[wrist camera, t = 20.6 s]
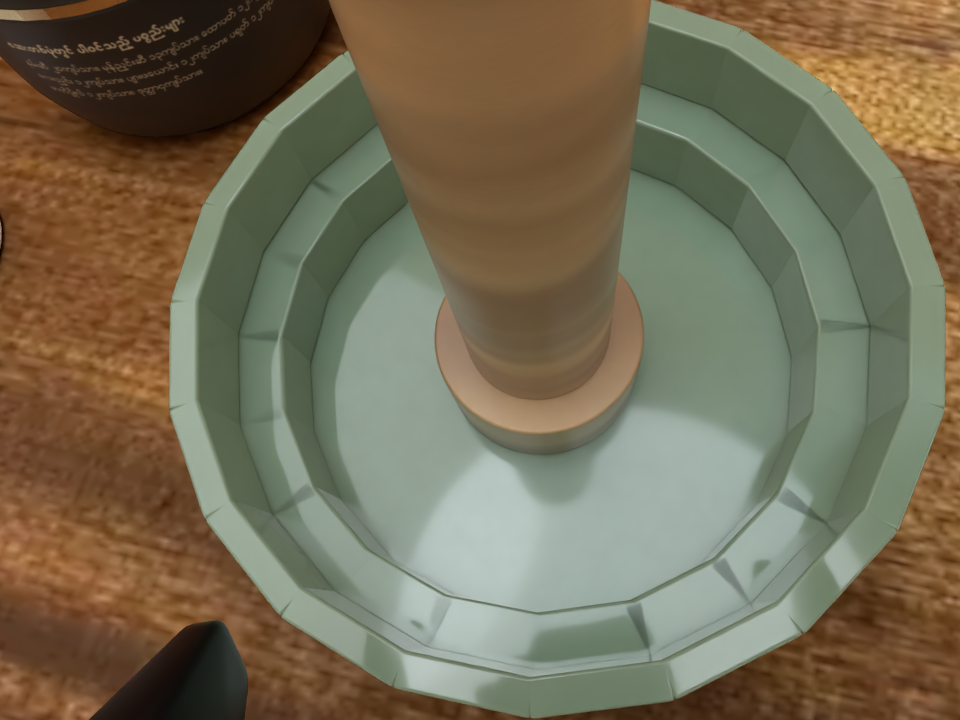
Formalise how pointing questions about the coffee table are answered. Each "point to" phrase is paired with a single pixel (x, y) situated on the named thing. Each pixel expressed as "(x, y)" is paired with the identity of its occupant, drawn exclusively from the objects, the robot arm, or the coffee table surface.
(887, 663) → the coffee table surface
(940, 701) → the coffee table surface
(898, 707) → the coffee table surface
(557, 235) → the muddler
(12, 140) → the coffee table surface
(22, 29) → the jar
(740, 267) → the bowl
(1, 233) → the chess piece
